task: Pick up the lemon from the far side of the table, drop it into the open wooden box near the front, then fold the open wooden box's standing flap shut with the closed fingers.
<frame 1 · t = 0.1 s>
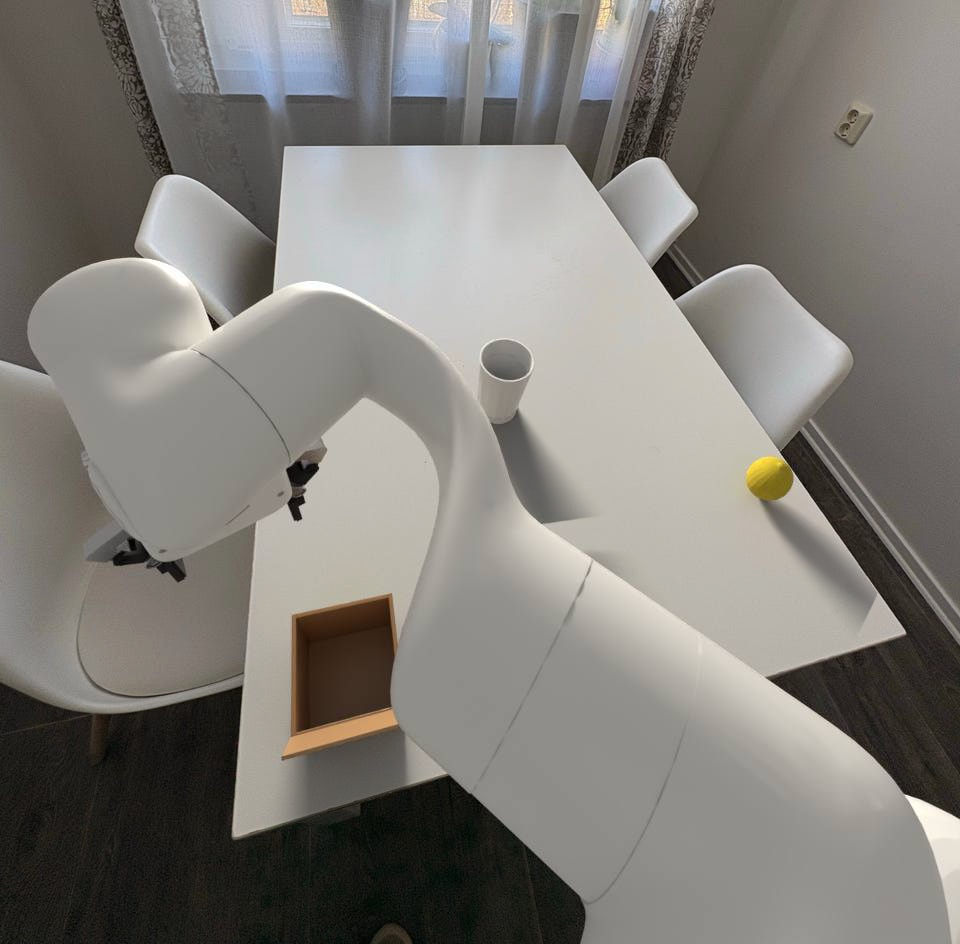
hand: (238, 534, 46), 21 cm above the table, tool pointing down, fingers open, 9 cm apart
lemon: (755, 491, 78), on the table
flap: (347, 731, 44), point 13 cm above the table, hinge at 110.0°
cup: (496, 407, 84), on the table
open wooden box: (353, 681, 57), on the table
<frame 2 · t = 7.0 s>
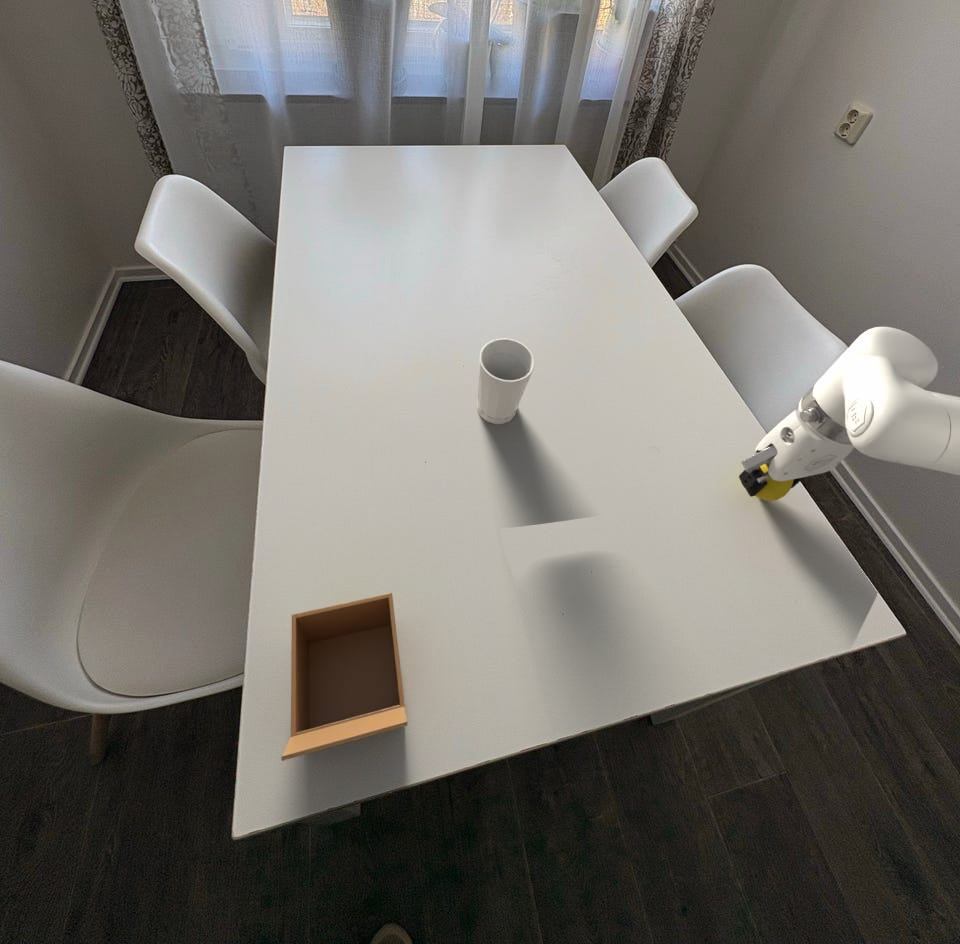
hand: (765, 482, 76), 3 cm above the table, tool pointing down, fingers closed on lemon, 5 cm apart
lemon: (755, 491, 78), on the table, touching gripper
everything else where it was.
when the fingers open (11 cm above the table, at t = 17.0 s): lemon drops 7 cm, resting on open wooden box.
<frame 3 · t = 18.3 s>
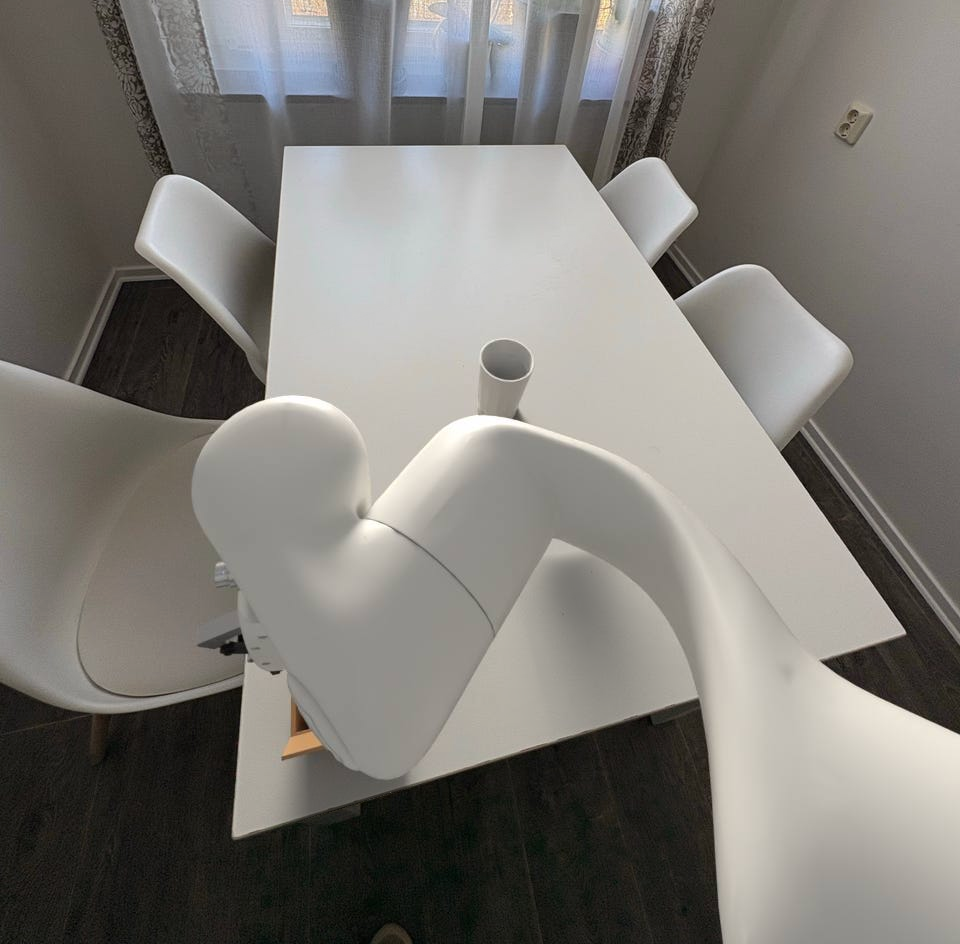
hand: (340, 637, 43), 20 cm above the table, tool pointing down, fingers open, 9 cm apart
lemon: (353, 682, 57), resting on open wooden box
everything else where it was.
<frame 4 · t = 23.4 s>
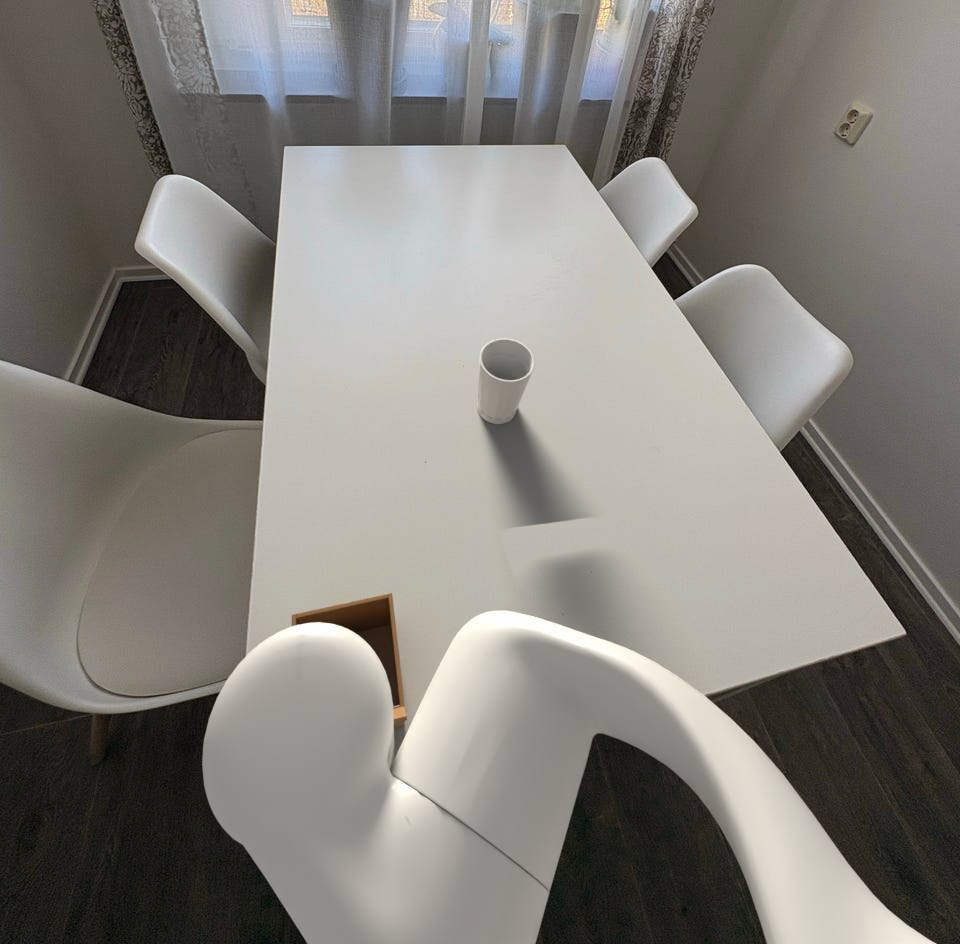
hand: (348, 775, 42), 13 cm above the table, tool pointing down, fingers closed
flap: (347, 728, 44), point 13 cm above the table, hinge at 105.4°, touching gripper
everything else where it was.
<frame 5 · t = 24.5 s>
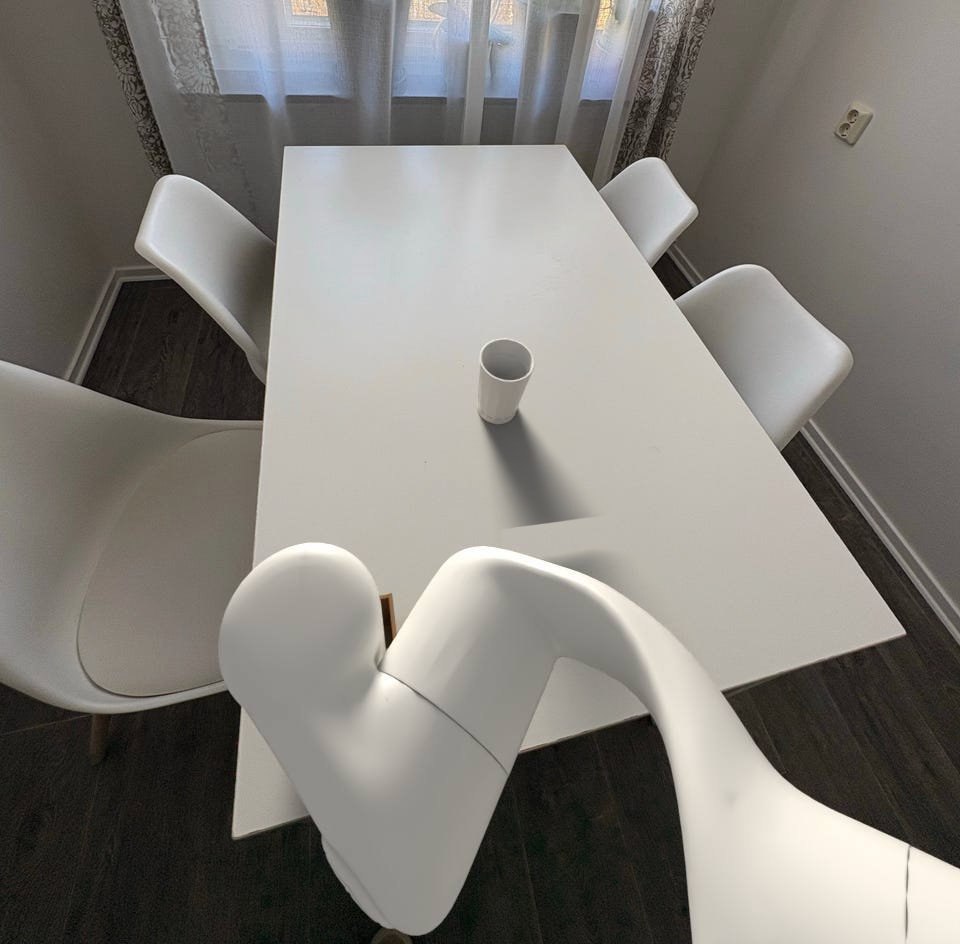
hand: (347, 717, 46), 12 cm above the table, tool pointing down, fingers closed
flap: (346, 690, 47), point 12 cm above the table, hinge at 24.9°
everything else where it was.
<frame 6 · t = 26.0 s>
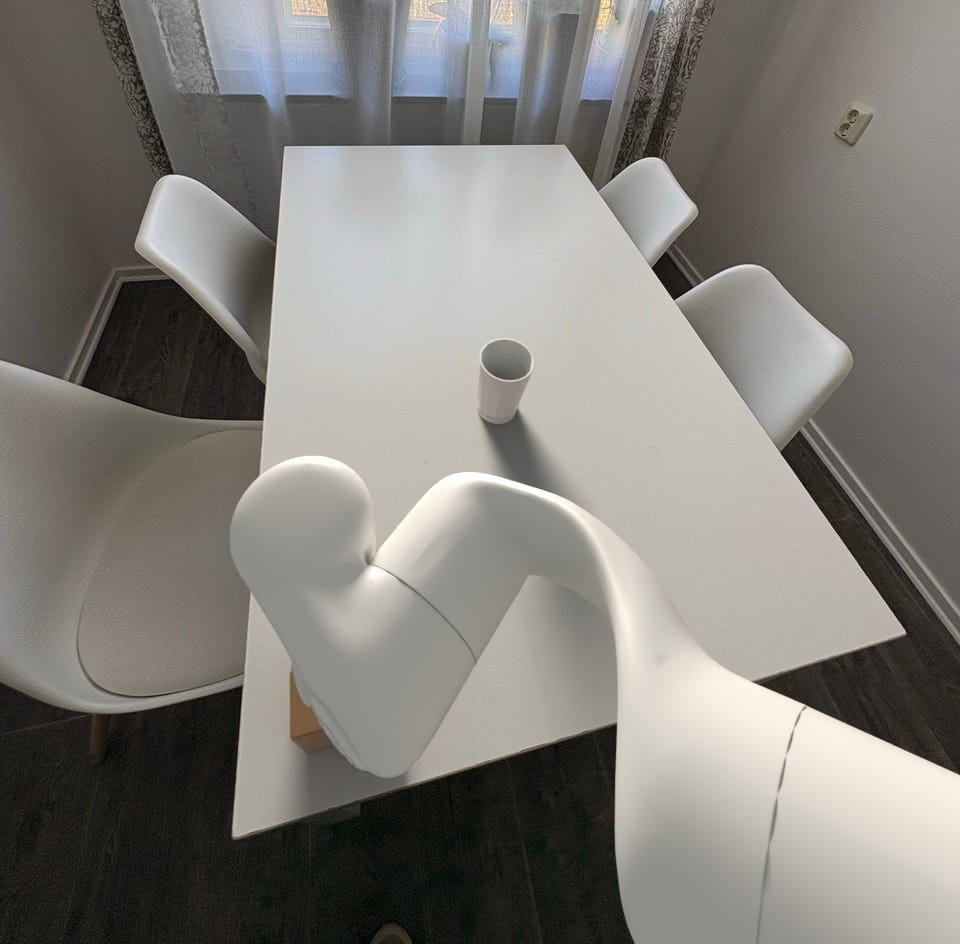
hand: (344, 650, 49), 12 cm above the table, tool pointing down, fingers closed
flap: (346, 689, 48), point 11 cm above the table, hinge at 7.1°, touching gripper
everything else where it was.
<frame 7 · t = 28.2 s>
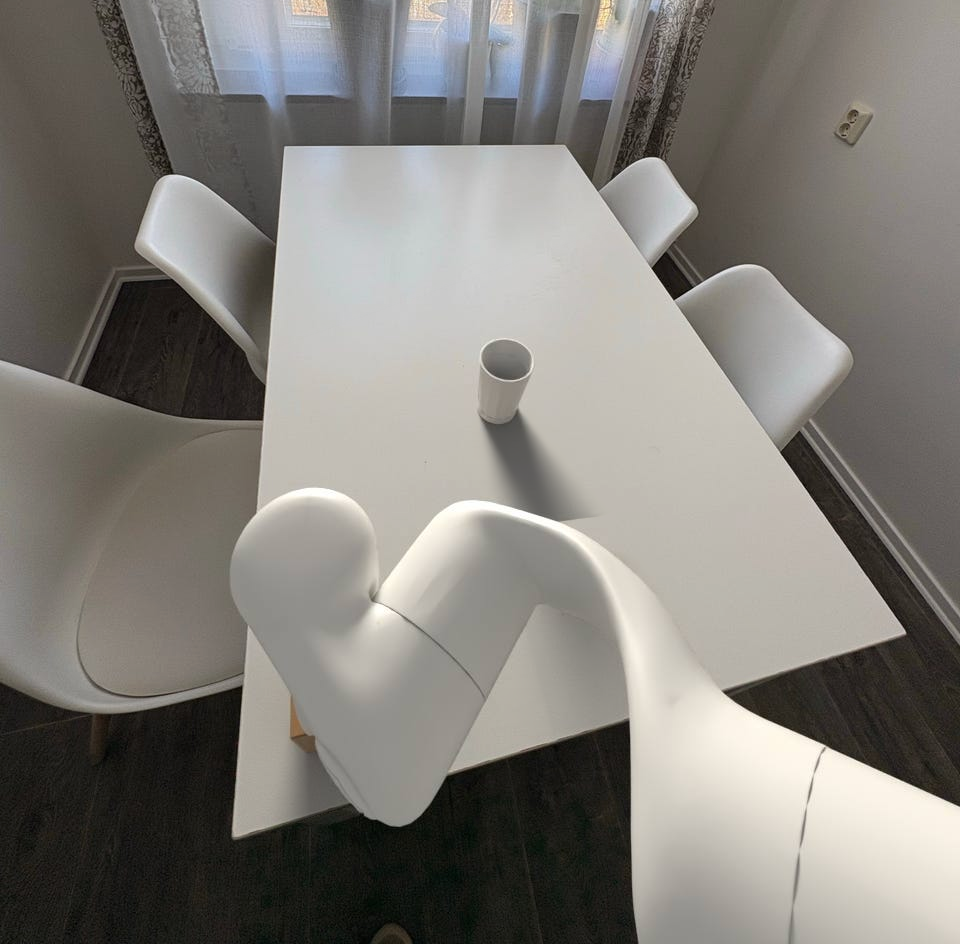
hand: (345, 672, 49), 11 cm above the table, tool pointing down, fingers closed
flap: (347, 689, 48), point 11 cm above the table, hinge at -0.6°, touching gripper
everything else where it was.
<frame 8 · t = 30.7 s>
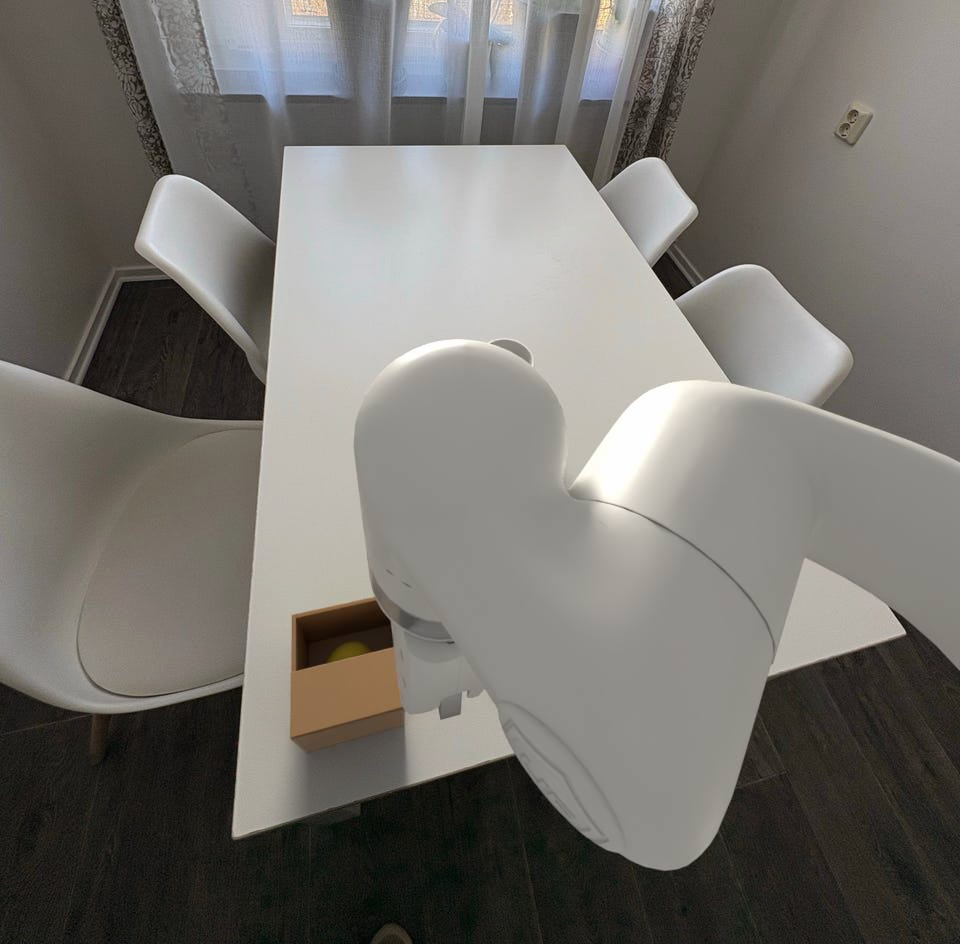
hand: (430, 641, 39), 25 cm above the table, tool pointing down, fingers closed
flap: (347, 689, 48), point 11 cm above the table, hinge at -0.6°
everything else where it was.
at the end: lemon inside the target area in the open wooden box (0.1 cm from its centre), point 0.2 cm above the open wooden box's base; flap at -1° (first picture: +110°) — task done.
